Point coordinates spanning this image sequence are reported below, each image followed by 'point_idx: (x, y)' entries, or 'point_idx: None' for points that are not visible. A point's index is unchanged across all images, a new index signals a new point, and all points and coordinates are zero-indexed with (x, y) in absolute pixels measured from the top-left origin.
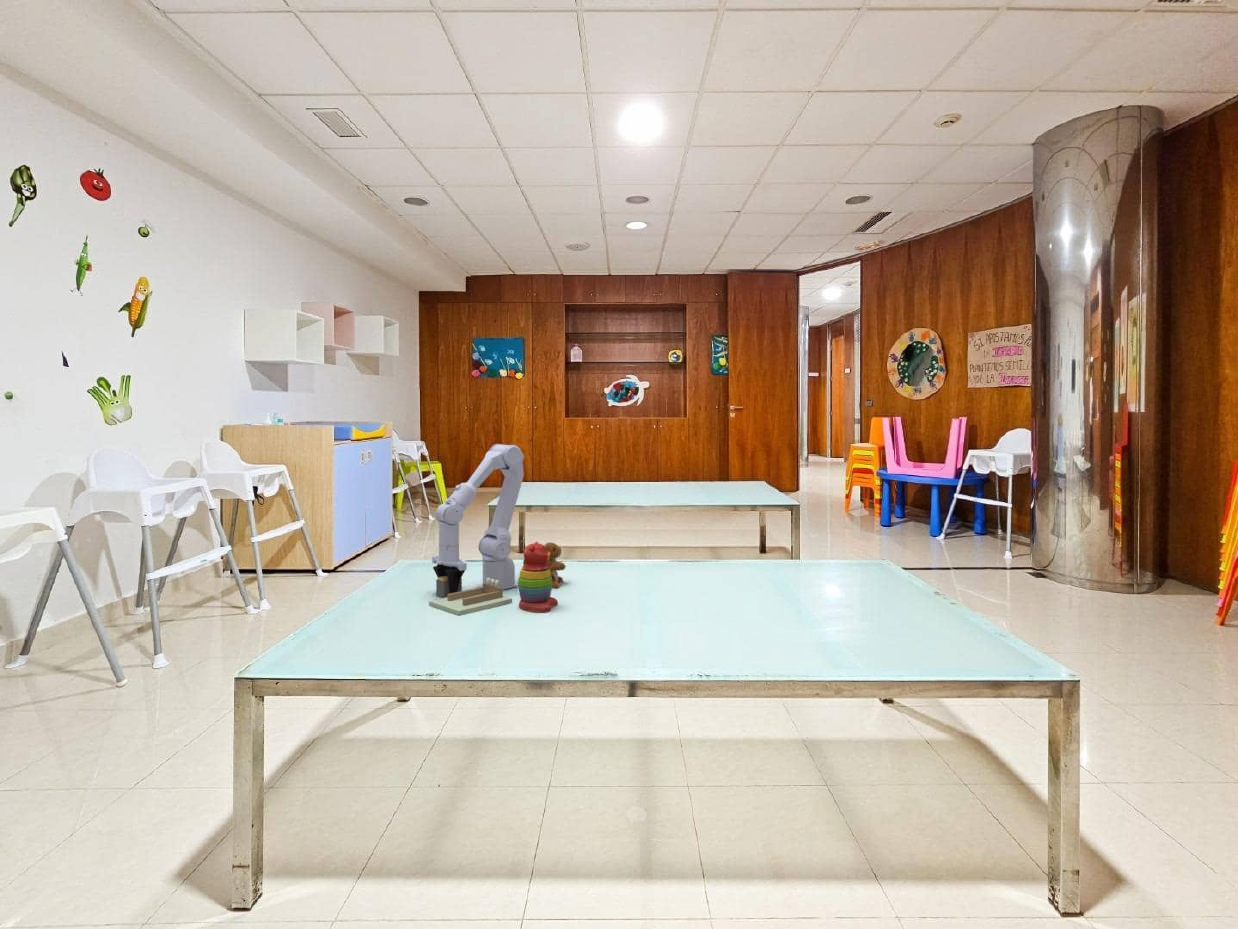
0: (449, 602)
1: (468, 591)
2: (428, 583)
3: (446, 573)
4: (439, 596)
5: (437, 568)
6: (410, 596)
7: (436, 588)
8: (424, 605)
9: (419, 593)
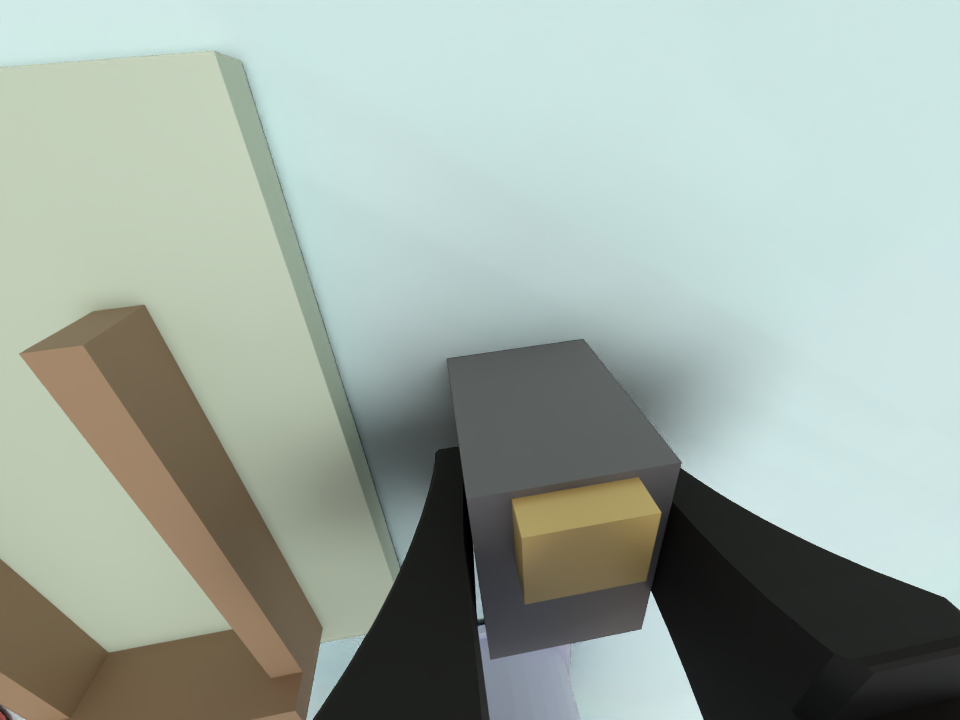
0: (5, 281)
1: (192, 568)
2: (933, 442)
3: (471, 675)
4: (532, 351)
5: (833, 672)
6: (813, 113)
7: (616, 384)
8: (290, 9)
9: (807, 261)
